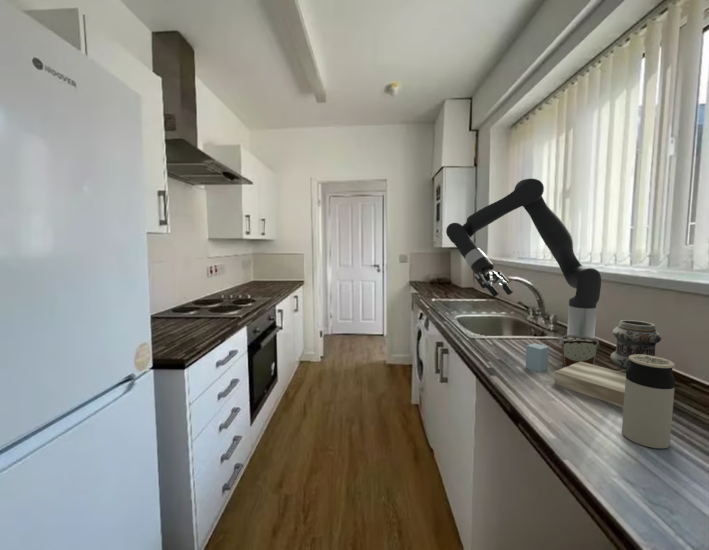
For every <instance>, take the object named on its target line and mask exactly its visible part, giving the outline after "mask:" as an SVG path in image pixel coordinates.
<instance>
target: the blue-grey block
mask: <svg viewBox="0 0 709 550" xmlns="http://www.w3.org/2000/svg"><path fill="white" fill-rule="evenodd" d="M525 348H526V349H525V366H524V368H525V369H527V368H528V370H530V369H531V371H533V370H534V371H535V372H537V373H542V372H545V371H547V370H549V358H550V357H549V356H550V353H549V352H550V346H547V345H545V344H544V345H543V344H539V343H535V342H534V343H530V344H527V345H526V347H525Z"/></svg>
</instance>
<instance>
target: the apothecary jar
mask: <svg viewBox="0 0 709 550" xmlns="http://www.w3.org/2000/svg"><path fill="white" fill-rule="evenodd" d="M612 335H613V336H614V337H615V338H616V345H615V347H616V348H615V351H613V352H612V353H611V354H610V360H611V361H612V363H613V364H614V365H616V366H618V367H619V368H621V369H620V370H617V371H618V372H622V373H626V370H627V368H628V367H629V366H630V365H631V363H630V359H629V356H630V355H634V354H641V355H650V356H656V345H657V344H658V343H660V342H661V341H662V335H661V334H660V333H659V332H658V331H657V329H656V326H655V324H654V323H651V322H647V321H643V320H642V321H641V320H634V319H633V320H632V319H622V320H619V324H618V326H615V327H614V328H613V330H612Z"/></svg>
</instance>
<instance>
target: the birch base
mask: <svg viewBox="0 0 709 550" xmlns="http://www.w3.org/2000/svg"><path fill="white" fill-rule="evenodd" d="M618 371H619V370H614V369H611V368H607V367H603V366H599V365H595V364H594V365H592V364H589V363H585V362H581V361H580V362H578V363H575V364H573V365H570V366H567V367H563V368H560V369H558V370H555V371H554V380H553V381H554V382H553V383H554V385H556V386H559V387H562V388H565V389H567V390H571V391H573V392H576V393H579V394H582V395H585V396H589V397H591V398H594V399H597V400H600V401H603V402H606V403H609V404H611V405H615V406H618V407H620V408H623V409H624V395H625V381H626V373H622V372H618Z"/></svg>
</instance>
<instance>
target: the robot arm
mask: <svg viewBox="0 0 709 550" xmlns="http://www.w3.org/2000/svg"><path fill="white" fill-rule="evenodd" d="M544 190H545V186H544V183H543V182H542V181H541V180H539V179H538V178H526V179H522V180H520V181H518V182H517V183H516V185H515V187H514V190H512V192H510V193H509V194H507V195H506V196H504V197H502V198H500V199H499V200H497V201H495V202H493V203H490V204H488V205H485V206H484V207H483V208H480V209H479V210H478V211H475V212H474V213H473V214H471V215H469V216H468V217H467V218H466V222H465V223H463V224H460V223H458V222H451V223H450V224H448V225H447V227H446V228H445V229H446V231H445V233H446V236H447V237H448V238H449V240H450V241H451V243H452V244H454V246H456V248H457V249H458V252H459V253H460V254H461V256H462V258H463V259H464V261H465V262H466V264H467V265H468V266H469V267H470V269H471V271H472V272H473V273H474V274H475V276H474V279H475V280H476V281H477V283H478V284H479V285H480V287H481V289H485V290H487V291H489V292H490V294H491V296H493V297H494V298H495V297H498V296H499V295H500V293H499V292H498V290H497V288H495V287H496V286H500V287H501V289H502V290H503V291H504V292H505V294H507V295H508V296H510V295H511V294H512V293H513V292H514V291H513V290H512V289H511V287H510V286H509V283H510V280H509V279H508V278H507V276H506V275H505V274H504V273H503V272H502V271H501V270H498V271H497V272H496V271H495V270H494V266H495V265H494V264H493V262H492V261H491V260H490V258H489V257H488V256H487V254H486V253H485V252H484V251H483V250H481V248H480V247H479V246H478V245H477V244H476V242H475V241H474V240H473V239H472V238H471V237H473V236H474V235H475V234H476V233H477V232H478V231H479V230H482V229H483V228H485V227H487V226H489V225H490V224H492V223H493V222H495V221H497V220H498V219H500V218H502V217H504V216H505V215H507V214H508V213H511V212H513V211H515V210H516V209H519V208H522V207H523V208H524V210H525V211H526V212H527V214H528V215H529V217H530V220H531V221H532V223H533V225H534V226H535V228H536V229H535V230H537V232H538V234H539V236H540V237H541V239H542V240H543V243H544V244H545V246H546V247H547V249H548V250H549V252H550V254H551V255H552V257H553V258H554V259H555V261H556V263H557V264H558V266H559V269H560V270H561V273H562V275H563V277H564V279H565V282H567V284H568V285H569V286H570V287H571V288H573V289H575V294H574V296H573V297H571V298H569V299H568V310H567V311H568V314H567V315H568V316H567V331H566V335H579V336H586V337H591V338H594V339H595V334H596V332H595V331H596V318H597V317H596V316H597V304H598V302H599V300H600V297H601V287H602V276H601V273H600V271H599V270H597V269H596V268H593V267H587V266H583V265H582V264H581V262H580V261H579V260H578V258H577V257H576V255H575V252H574V244H573V243H574V241H573V237H572V234H571V233H570V231H569V229H568V228H567V226H566V225H565V223H564V222H563V220H562V219H561V218H560V217H559V216H558V215H557V214H556V213H555V212H554V211H553V210H552V209H551V208H550V207H549V206H548V204H547V203H546V201H545V199H544V196H543V194H544ZM493 284H494V285H496V286H494V285H493Z"/></svg>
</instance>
